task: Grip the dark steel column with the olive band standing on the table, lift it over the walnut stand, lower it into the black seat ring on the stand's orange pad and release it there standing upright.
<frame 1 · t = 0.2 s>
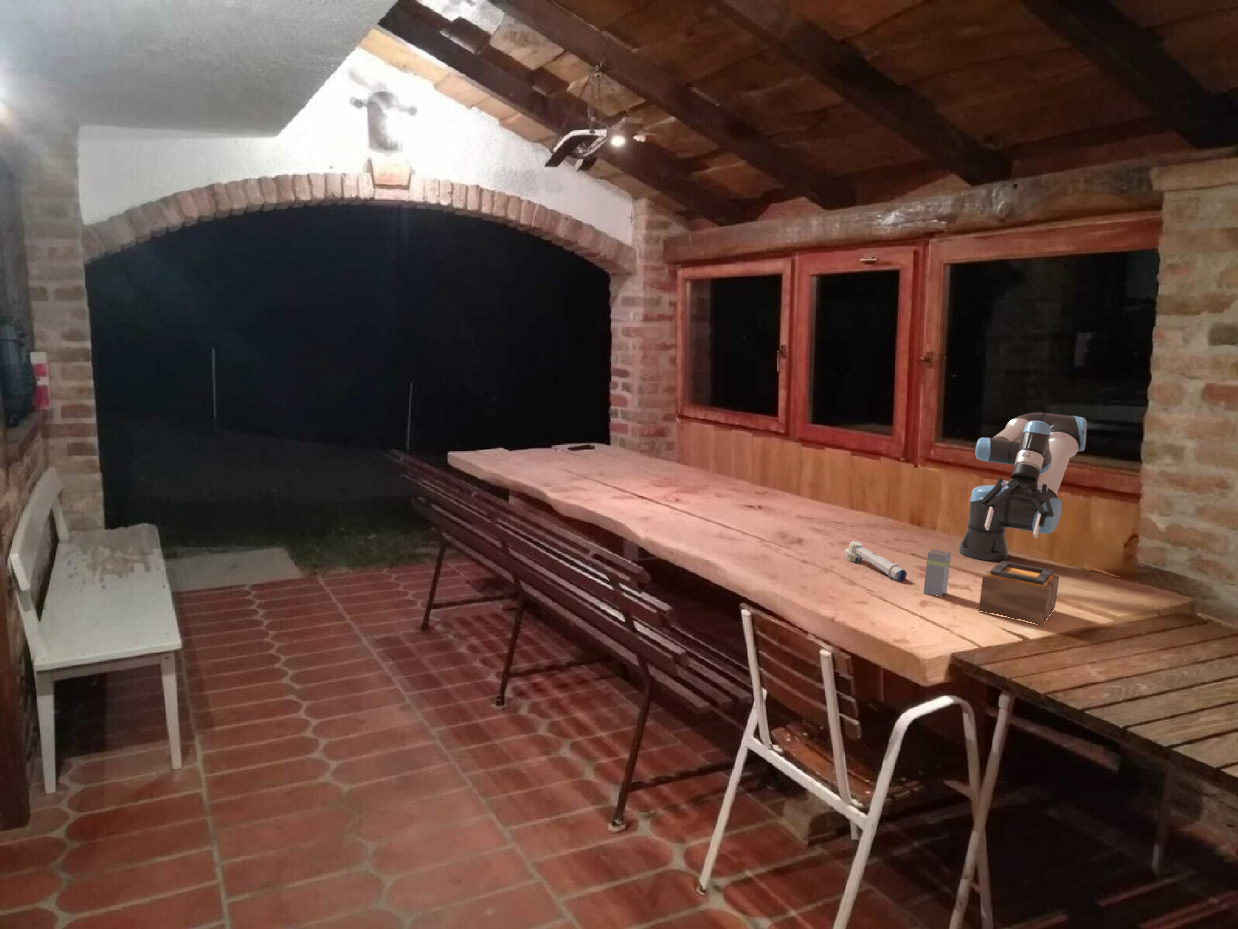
hand: (1010, 532, 269), 16 cm above the table, tool tilted 35°, fingers open, 13 cm apart
steel column: (935, 593, 260), on the table
white plastic rod: (873, 570, 281), on the table
walnut stand: (1016, 611, 247), on the table
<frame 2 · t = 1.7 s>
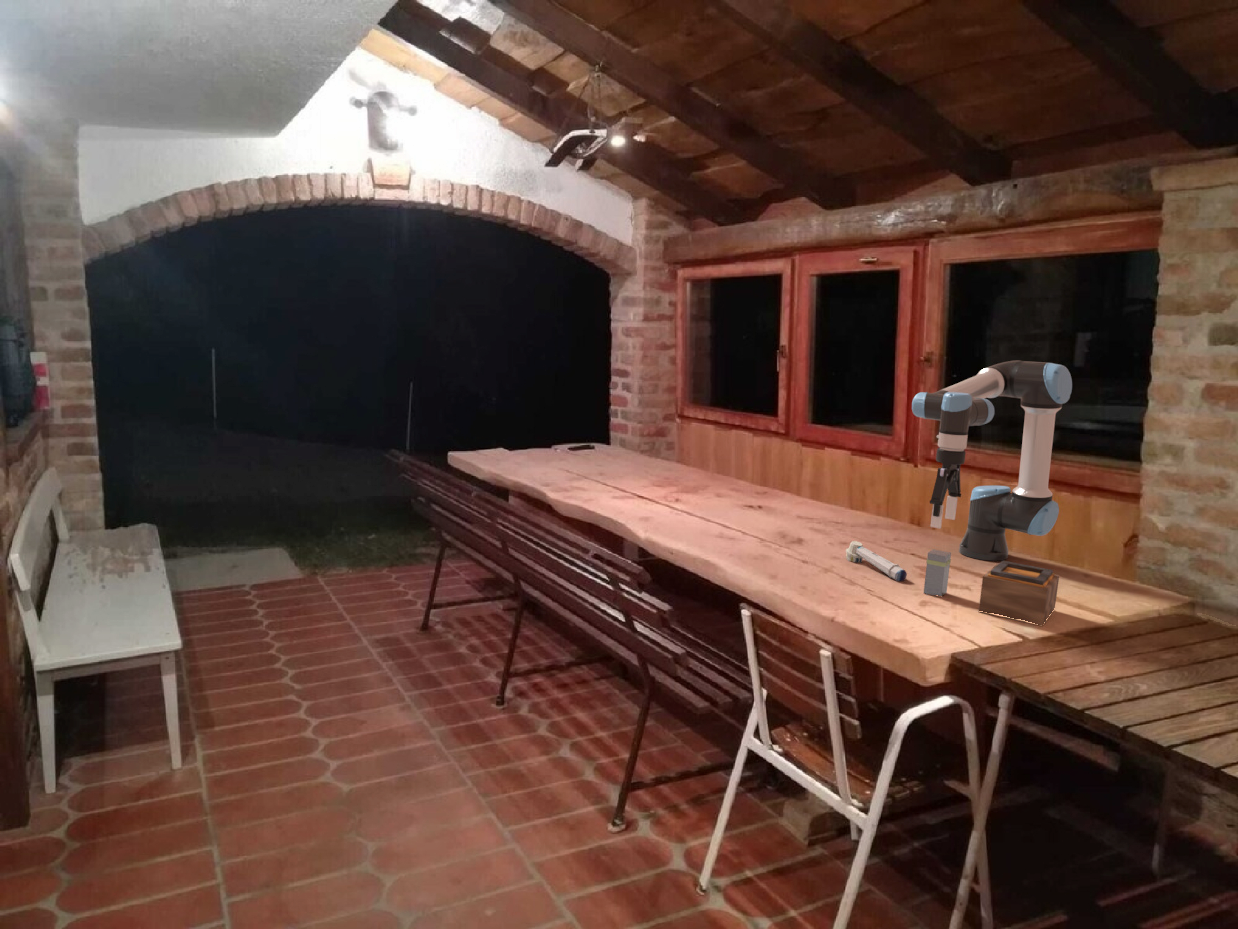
hand: (942, 523, 256), 21 cm above the table, tool pointing down, fingers open, 13 cm apart
nothing on the table moved.
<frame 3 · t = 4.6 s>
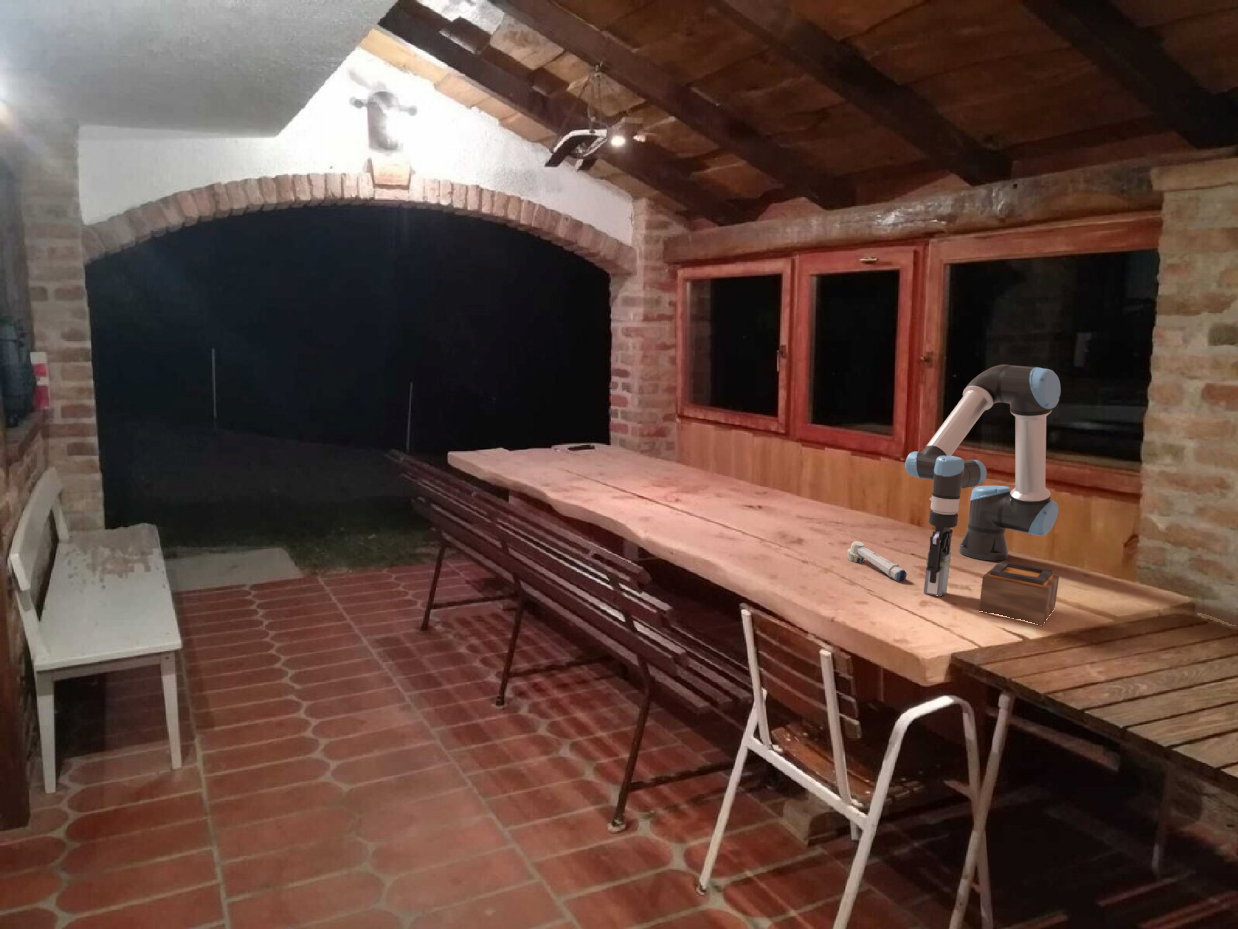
hand: (935, 590, 260), 1 cm above the table, tool pointing down, fingers closed on steel column, 5 cm apart
steel column: (935, 593, 260), on the table, touching gripper
everything else where it was.
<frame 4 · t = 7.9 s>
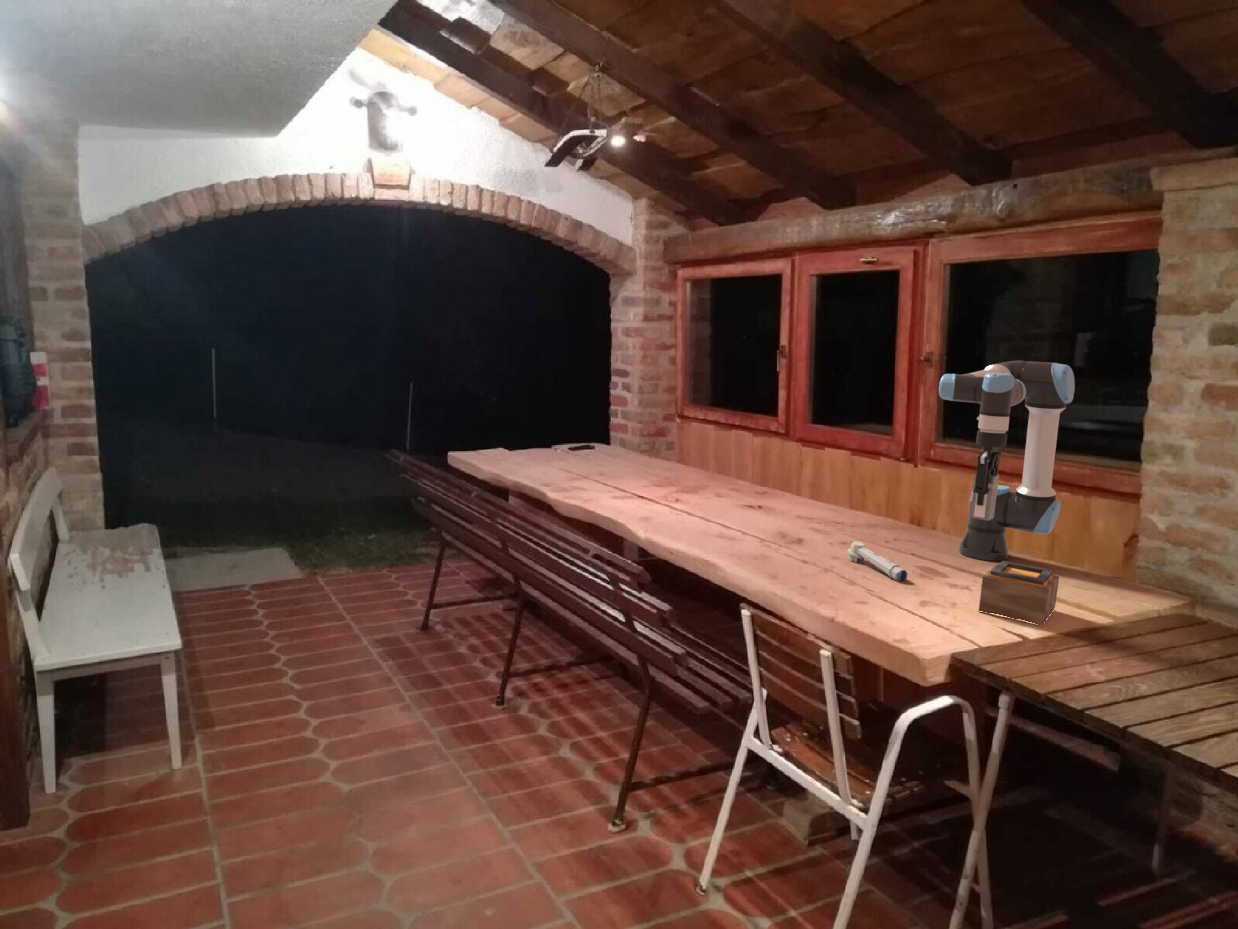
hand: (982, 514, 249), 25 cm above the table, tool pointing down, fingers closed on steel column, 5 cm apart
steel column: (981, 517, 250), point 24 cm above the table, touching gripper
everything else where it was.
when the fingers open (13 cm above the table, at t = 11.6 s): steel column drops 2 cm, resting on walnut stand.
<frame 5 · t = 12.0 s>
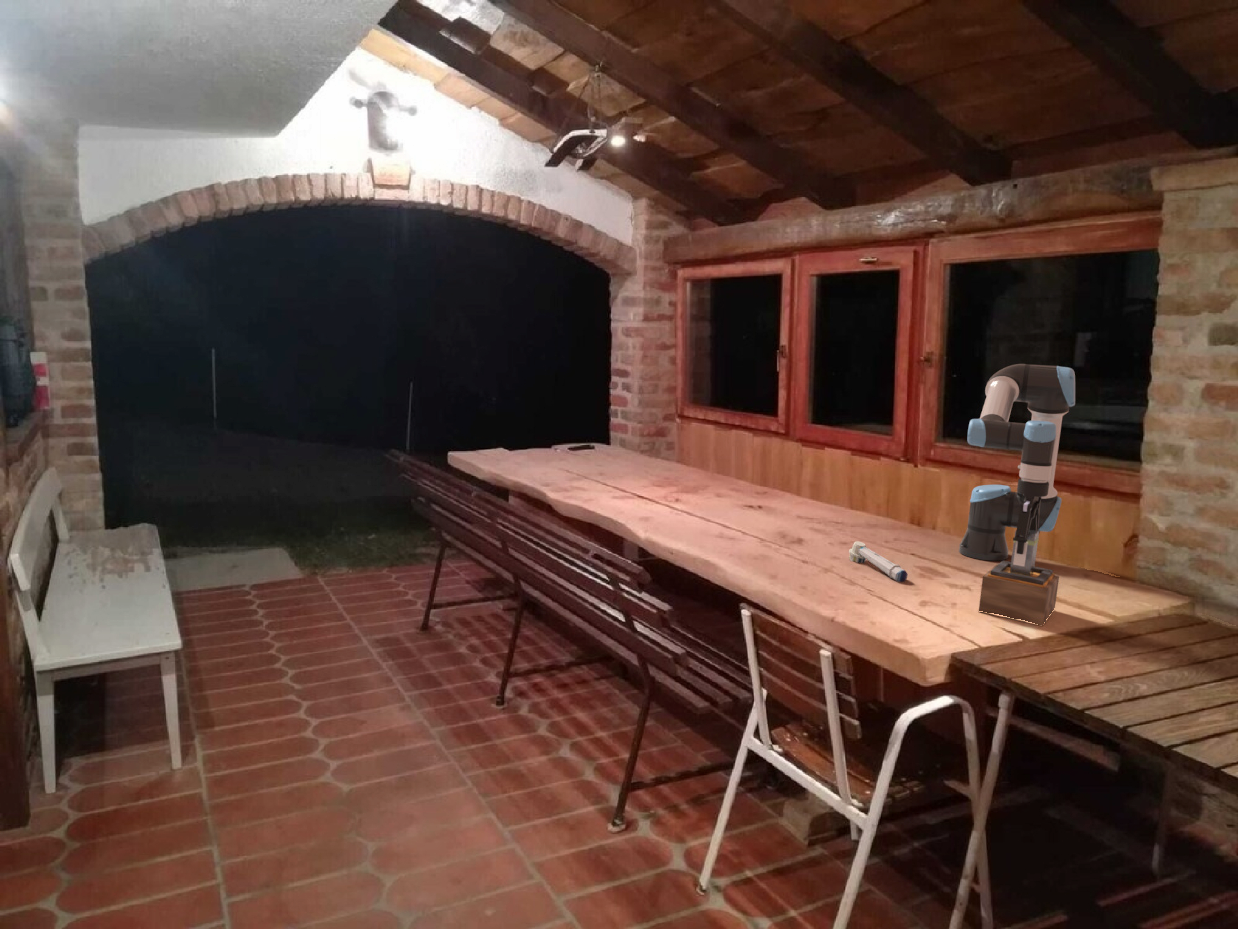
hand: (1023, 561, 245), 14 cm above the table, tool pointing down, fingers open, 10 cm apart
steel column: (1021, 574, 246), point 10 cm above the table, touching walnut stand
everything else where it was.
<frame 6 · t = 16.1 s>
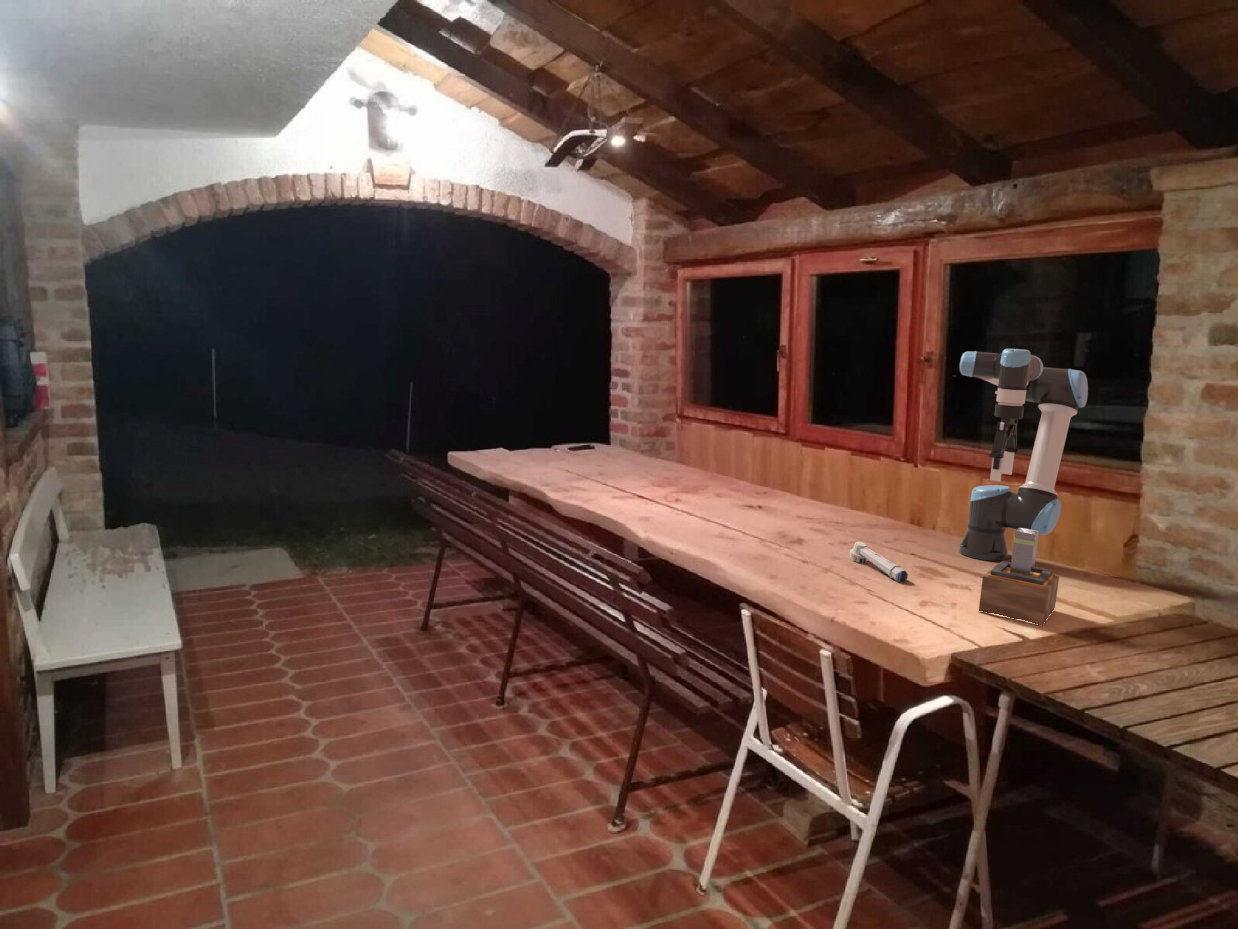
hand: (1001, 477, 263), 33 cm above the table, tool pointing down, fingers open, 13 cm apart
nothing on the table moved.
at the end: steel column inside the target area on the walnut stand (0.0 cm from its centre), point 10.5 cm above the walnut stand's base; steel column tilted 0°; the gripper is holding nothing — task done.
